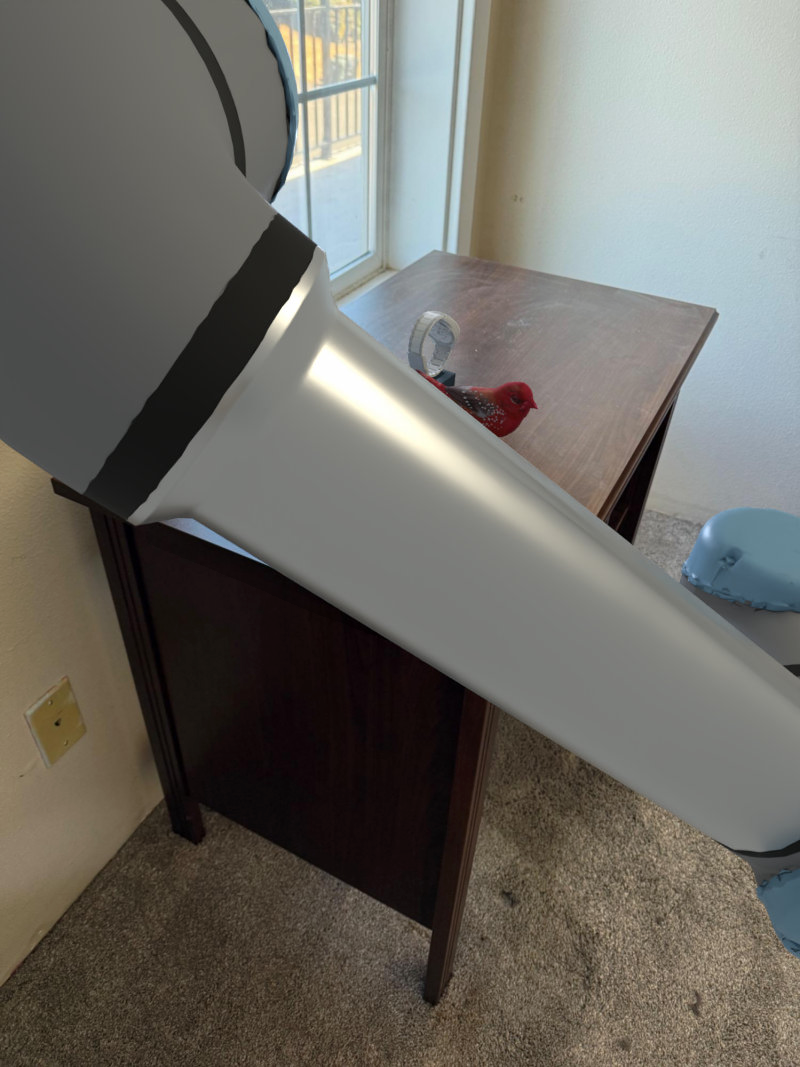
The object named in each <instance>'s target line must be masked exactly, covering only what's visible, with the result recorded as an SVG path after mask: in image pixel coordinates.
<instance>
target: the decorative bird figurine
mask: <svg viewBox="0 0 800 1067" xmlns="http://www.w3.org/2000/svg"><path fill="white" fill-rule="evenodd" d="M416 372H417V373H419V374H420V375H421V376H422V377H424V378H425V379H426V380H427V381H429V382H430V383H431V384H432V385H434V386H435V387H436V388H437V389H439V390H440V391H441V392H442V393H444V394H445V395H446V396H447V397H449V398H450V399H451V400H452V401H454V402H455V403H456V404H457V405H459V406H460V407H461V408H462V409H464V410H465V411H466V412H467V413H468V414H470V415H471V416H472V417H473V418H475V419H476V420H477V421H478V422H480V423H481V424H482V425H483V426H485V427H486V428H487V429H488V430H490V431H491V432H492V433H493V434H495V435H496V436H497V437H498V438H500V439H501V438H504V437H506V436H508V435H510V434H512V433H514V432H515V431H516V430H517V429H518V428H519V427H520V425H521V424H522V422H523V420H524V419H525V418H527V417H528V415H529V413H530V411H531V409H534V410H539V407H538V405H537V403H536V402H535V399H534V393H533V391H532V389H531V387H530V386H529V385H528V384H527V383H526V382H523V381H509V382H505V383H503V384H501V385H500V386H497V387H482V386H477V385H476V386H475V385H455V386H451V387H447V386H444V385H443V384H441V383H439V382H438V381H436V380H435V379H433V378H431V377H430V376H428V375H426V374H425V373H423V372H421V371H419V370H417V369H416Z"/></svg>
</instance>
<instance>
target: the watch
mask: <svg viewBox="0 0 800 1067" xmlns="http://www.w3.org/2000/svg"><path fill="white" fill-rule="evenodd" d="M460 335H461V329H460V326H459V325H458V323H457V322H456V321H455V319H454V318H452V316H450V315H448V314H446V313H444V312H442V311H439V310H431V311H429V310H425V311H424V312H422V314H421V315H420V316H418V318H417V319H416V320H415V322H414V324H413V327H412V328H411V331H410V335H409V339H408V344H407V352H406V355H407V356H406V357H407V360H408V365H409V366H410V367H411V368H412V369H414V370H415V371H416V369H417V370H419V371H421V372H423V373H425V374H426V375H428V376H430V377H431V378H433V379H435V380H436V381H438V382H439V383H441V384H443V385H444V386H447V387H451V386H456V385H455V384H456V372H454V371H450V370H447V369H444V368H445V367H446V365H447V363H448V361H449V359H450V357H451V354H452V350H454V349H455V347H456V344H457V341H458V338H459V337H460ZM428 336H429V338H430V340H431V343H432V344H433V345H434V349H433V352H432V355H431V357H430V358H429V361H427V358H426V355H425V354H424V348H425V343H426V340H427V337H428ZM427 362H428V363H427Z"/></svg>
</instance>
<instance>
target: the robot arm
mask: <svg viewBox="0 0 800 1067" xmlns="http://www.w3.org/2000/svg"><path fill="white" fill-rule="evenodd" d="M299 109H300V108H299V92H298V85H297V79H296V74H295V70H294V66H293V63H292V58H291V56H290V53H289V50H288V47H287V45H286V42H285V40H284V38H283V35H282V33H281V31H280V29H279V27H278V25H277V22H276V20H275V19H274V17H273V16H272V13H271V12H270V10H269V9H268V7H267V5H266V4H265V3H264V1H263V0H0V441H2V442H3V443H4V444H5V445H6V446H8V447H9V448H10V449H12V450H14V451H15V452H16V453H17V454H19V455H20V456H22V457H24V458H25V459H26V460H28V461H29V462H31V463H32V464H34V465H36V466H37V467H39V468H40V469H41V470H43V471H44V472H46V474H49V475H50V476H51V477H53V478H54V479H56V480H58V481H60V482H61V483H63V484H64V485H66V486H67V487H69V488H71V489H72V490H74V491H75V492H77V493H78V494H80V495H82V496H85V497H86V498H88V499H90V500H91V501H93V502H95V503H97V504H98V505H100V506H101V507H103V508H104V509H107V510H108V511H110V512H112V514H115V515H117V516H118V517H120V518H121V519H123V520H125V521H127V522H128V523H130V524H131V525H133V526H135V527H136V526H141V525H148V524H154V523H158V522H165V521H170V520H175V519H191V520H194V521H195V522H197V523H198V524H201V525H202V526H204V527H205V528H206V529H208V530H210V531H211V532H214V533H215V534H216V535H217V536H220V537H222V538H223V539H225V540H226V541H228V542H229V543H230V544H232V545H234V546H236V547H238V548H239V549H241V550H243V551H244V552H246V553H247V554H249V555H251V556H252V557H254V558H255V559H257V560H259V561H260V562H262V563H263V564H265V565H267V566H268V567H270V568H271V569H273V570H275V571H276V572H278V573H280V574H281V575H283V576H284V577H286V578H288V579H289V580H290V581H293V582H294V583H296V584H298V585H299V586H301V587H302V588H304V589H306V590H307V591H309V592H311V593H312V594H314V595H315V596H317V597H319V598H320V599H322V600H324V601H325V602H327V603H328V604H330V605H332V606H333V607H335V608H336V609H339V611H341V612H343V613H344V614H346V615H348V616H349V617H351V618H353V619H354V620H356V621H357V622H360V623H361V624H363V626H366V627H367V628H369V629H371V630H372V631H374V632H376V633H377V634H378V635H380V636H382V637H384V638H385V639H387V640H388V641H390V642H391V643H393V644H395V645H397V646H398V647H400V648H401V649H403V650H405V651H406V652H408V653H410V654H411V655H413V656H415V657H416V658H418V659H420V660H421V661H422V662H424V663H426V664H427V665H429V666H431V667H432V668H433V669H436V670H437V671H438V672H441V673H442V674H444V675H445V676H447V677H449V678H450V679H452V680H453V681H455V682H457V683H458V684H460V685H462V686H463V687H465V688H467V689H468V690H470V691H472V692H473V693H474V694H476V695H478V696H479V697H481V698H483V699H484V700H486V701H487V702H489V703H491V704H493V705H494V706H496V707H497V708H499V709H500V710H502V711H504V712H505V713H506V714H508V715H510V716H512V717H513V718H515V719H516V720H518V721H520V722H521V723H523V724H525V725H526V726H528V727H530V728H531V729H533V730H534V731H536V732H537V733H539V734H541V735H542V736H544V737H545V738H547V739H549V740H551V741H553V742H554V743H555V744H556V745H558V746H560V747H562V748H563V749H565V750H567V751H569V752H570V753H572V754H573V755H575V756H576V757H578V758H580V759H582V760H583V761H585V762H586V763H588V764H589V765H592V766H593V767H595V768H596V769H598V770H599V771H601V772H603V773H604V774H606V775H607V776H609V777H611V778H612V779H614V780H616V781H617V782H619V783H620V784H622V785H623V786H625V787H627V788H628V789H630V790H632V791H633V792H635V793H636V794H639V795H640V796H641V797H643V798H644V799H646V800H648V801H650V802H651V803H653V804H655V805H656V806H657V807H659V808H661V809H663V810H665V812H668V813H669V814H671V815H672V816H674V817H676V818H677V819H679V820H681V821H682V822H684V823H685V824H687V825H689V826H690V827H692V828H694V829H695V830H696V831H698V832H700V833H702V834H703V835H705V836H707V837H708V838H710V839H711V840H713V841H714V842H715V843H717V844H719V845H721V846H722V847H723V848H724V849H726V850H728V852H730V853H732V854H734V855H735V856H737V857H738V858H740V859H742V860H743V861H745V862H746V863H748V865H749V866H750V868H751V870H752V872H753V875H754V879H755V884H756V887H755V891H756V896H757V900H759V901H760V902H761V903H762V904H763V905H764V907H765V910H766V913H767V915H768V917H769V921H770V922H771V925H772V928H773V930H774V933H775V934H776V936H777V938H778V940H779V941H780V943H781V944H782V945H783V947H784V949H785V950H786V951H787V952H788V953H790V954H791V955H792V956H793V957H795V958H797V959H798V960H800V516H797V515H795V514H793V513H790V512H786V511H783V510H779V509H775V508H770V507H764V508H761V507H752V506H739V507H733V508H728V509H726V510H725V509H724V510H723V511H720V512H717V514H714V515H713V516H712V517H711V518H708V520H707V521H706V522H705V524H704V525H703V526H702V527H701V529H700V531H699V533H698V536H697V538H696V540H695V543H694V545H693V547H692V548H691V552H690V553H689V555H688V558H687V559H686V560H685V561H684V562H683V563H682V566H681V570H680V573H681V576H680V579H679V580H677V579H675V578H674V577H673V576H672V575H670V574H669V573H668V572H666V570H664V569H663V568H661V566H659V565H658V564H656V562H654V561H653V560H652V559H651V558H649V557H648V556H647V555H646V554H644V553H643V552H642V551H640V550H639V548H637V547H635V546H634V545H633V544H631V542H629V541H628V540H627V539H626V538H624V537H623V536H622V535H620V534H619V533H618V532H617V531H615V529H613V528H612V527H611V526H609V525H608V524H607V523H606V522H604V521H603V520H602V519H601V518H600V517H598V516H597V515H596V514H594V513H593V512H592V511H590V510H589V509H588V508H587V507H586V506H584V504H582V503H580V501H578V500H577V499H576V498H575V497H573V496H572V495H571V494H569V492H568V491H566V490H564V488H562V487H561V486H559V485H558V484H557V483H556V482H555V481H553V480H552V479H551V478H549V477H548V476H547V475H545V473H543V472H542V471H541V470H539V469H538V468H537V467H536V466H535V465H534V464H532V463H531V462H530V461H529V460H527V458H524V456H522V455H521V454H520V453H519V452H517V451H516V450H515V449H514V448H512V447H511V446H510V445H508V444H507V443H506V442H504V441H503V440H502V439H501V437H500V438H498V437H497V436H496V435H495V434H493V433H492V432H491V431H490V430H488V429H487V428H486V427H485V426H483V425H482V424H481V423H480V422H478V421H477V420H476V419H475V418H473V417H472V416H471V415H470V414H468V413H467V412H466V411H465V410H464V409H462V408H461V407H460V406H459V405H457V404H456V403H455V402H454V401H452V400H451V399H450V398H449V397H447V396H446V395H445V394H444V393H442V392H441V391H440V390H439V389H437V388H436V387H435V386H434V385H432V384H431V383H430V382H429V381H427V380H426V379H425V378H424V377H422V376H421V375H420V374H419V373H417V372H416V371H415V370H414V369H412V368H411V367H410V364H408V363H407V362H405V361H404V360H403V359H401V358H400V357H399V356H397V354H396V353H394V352H393V351H391V350H390V349H389V348H388V347H387V346H385V345H384V344H383V343H382V342H380V340H377V339H376V338H375V337H374V336H373V335H371V334H370V333H369V332H368V331H367V330H366V329H364V328H363V327H362V326H360V325H359V324H358V323H357V322H356V321H354V320H353V319H352V318H350V317H349V316H348V315H346V314H345V313H344V312H343V311H342V310H340V309H339V307H338V305H337V302H336V300H335V297H334V294H333V289H332V282H331V275H330V268H329V263H328V256H327V251H325V249H323V248H322V247H321V246H320V245H318V244H317V243H316V242H315V241H313V239H312V238H310V237H309V236H308V235H306V234H305V233H304V232H303V231H302V230H300V229H299V228H298V227H297V226H296V225H294V224H293V223H292V222H291V221H290V220H288V219H287V218H286V217H285V216H284V215H282V214H281V213H280V212H279V211H277V209H275V207H274V206H272V205H273V204H274V203H275V201H276V198H277V196H278V194H279V192H280V191H281V190H282V189H283V187H284V186H285V185H286V181H287V177H288V174H289V171H290V169H291V168H292V165H293V161H294V155H295V149H296V144H297V140H298V132H299V123H300V122H299V121H300V120H299V119H300V113H299V111H300V110H299Z"/></svg>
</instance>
